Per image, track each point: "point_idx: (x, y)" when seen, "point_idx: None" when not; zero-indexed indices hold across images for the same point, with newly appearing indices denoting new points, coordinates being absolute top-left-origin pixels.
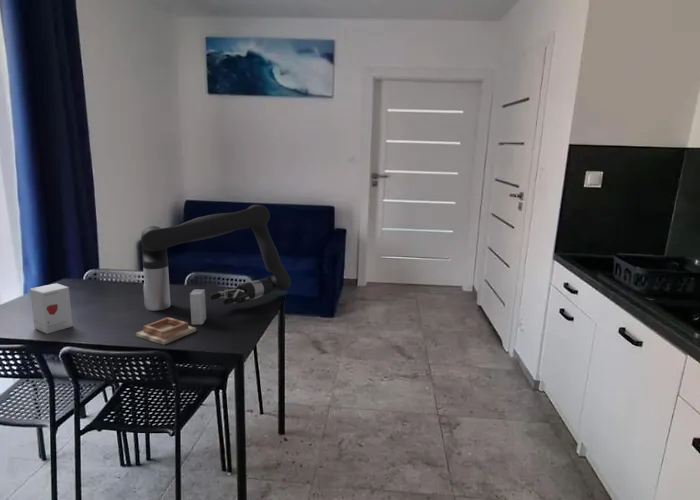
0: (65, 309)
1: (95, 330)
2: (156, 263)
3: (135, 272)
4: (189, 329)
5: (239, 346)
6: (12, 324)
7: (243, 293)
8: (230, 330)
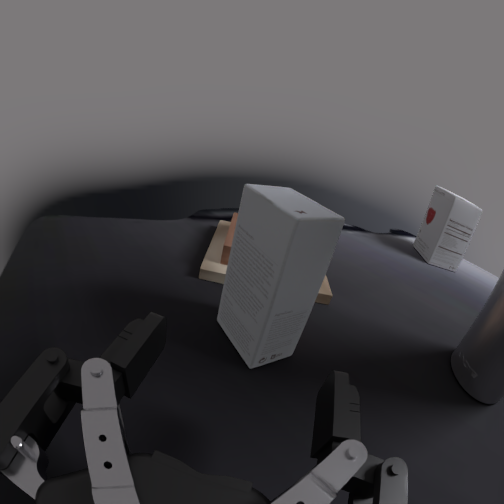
0: (437, 228)
1: (391, 258)
2: None
3: None
4: (211, 259)
5: (44, 230)
6: (462, 260)
7: (44, 496)
8: (81, 292)
